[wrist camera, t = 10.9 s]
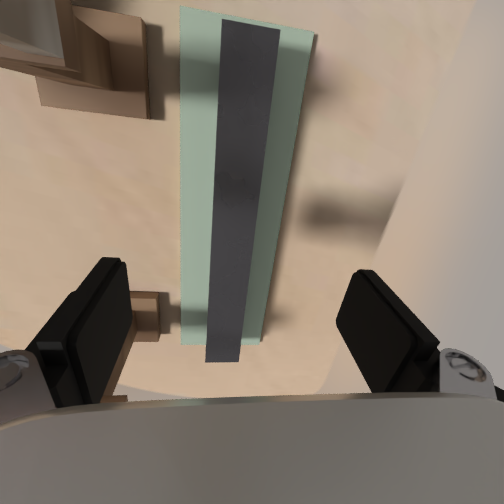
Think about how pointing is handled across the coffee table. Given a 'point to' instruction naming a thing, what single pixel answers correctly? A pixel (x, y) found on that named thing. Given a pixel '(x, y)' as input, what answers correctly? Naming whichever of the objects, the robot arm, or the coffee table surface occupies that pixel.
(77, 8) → the rack
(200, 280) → the mat
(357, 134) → the coffee table surface
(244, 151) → the rail
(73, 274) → the coffee table surface
